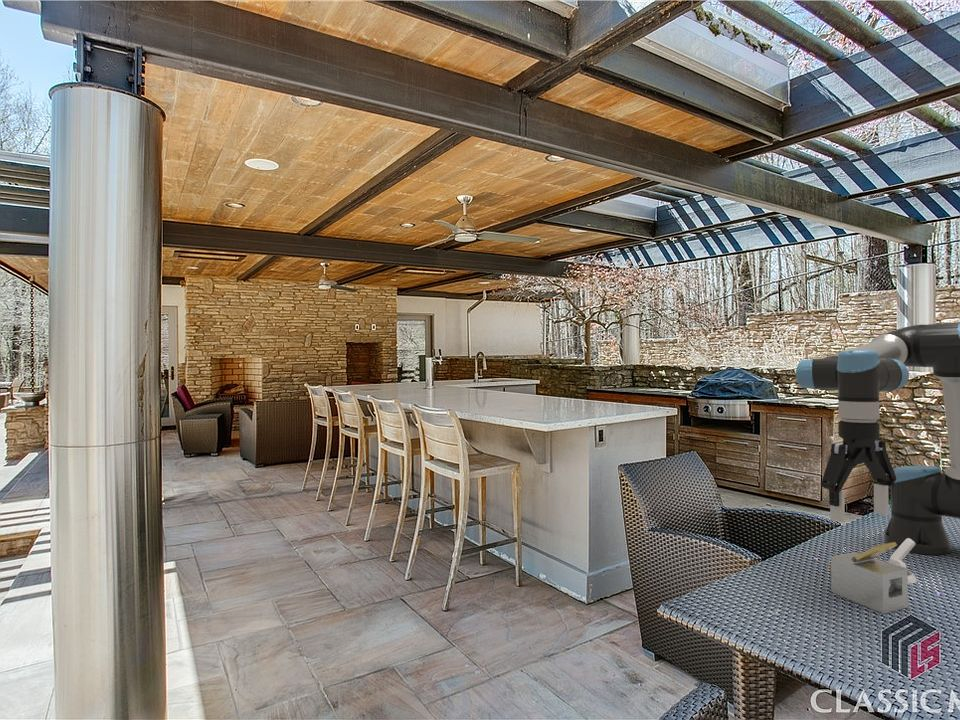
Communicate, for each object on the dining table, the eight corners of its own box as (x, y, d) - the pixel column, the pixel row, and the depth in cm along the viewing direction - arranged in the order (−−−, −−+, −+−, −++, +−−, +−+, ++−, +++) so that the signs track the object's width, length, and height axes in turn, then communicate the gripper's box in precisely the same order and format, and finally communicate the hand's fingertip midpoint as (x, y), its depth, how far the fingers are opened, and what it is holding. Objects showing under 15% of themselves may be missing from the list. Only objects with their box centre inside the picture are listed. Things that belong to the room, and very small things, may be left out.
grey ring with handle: (944, 561, 137) (926, 548, 135) (912, 599, 138) (894, 586, 137) (917, 545, 144) (900, 532, 143) (887, 581, 146) (869, 569, 144)
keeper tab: (872, 559, 131) (868, 554, 132) (898, 546, 125) (894, 541, 126) (854, 563, 129) (850, 558, 129) (879, 549, 123) (875, 544, 124)
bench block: (855, 587, 136) (854, 551, 136) (908, 607, 125) (907, 569, 125) (831, 592, 133) (831, 556, 133) (883, 613, 122) (882, 574, 122)
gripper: (880, 416, 131) (881, 507, 131) (801, 421, 122) (802, 519, 122) (915, 419, 124) (916, 515, 124) (833, 425, 115) (834, 528, 115)
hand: (859, 517), depth 123 cm, fingers open, 13 cm apart
